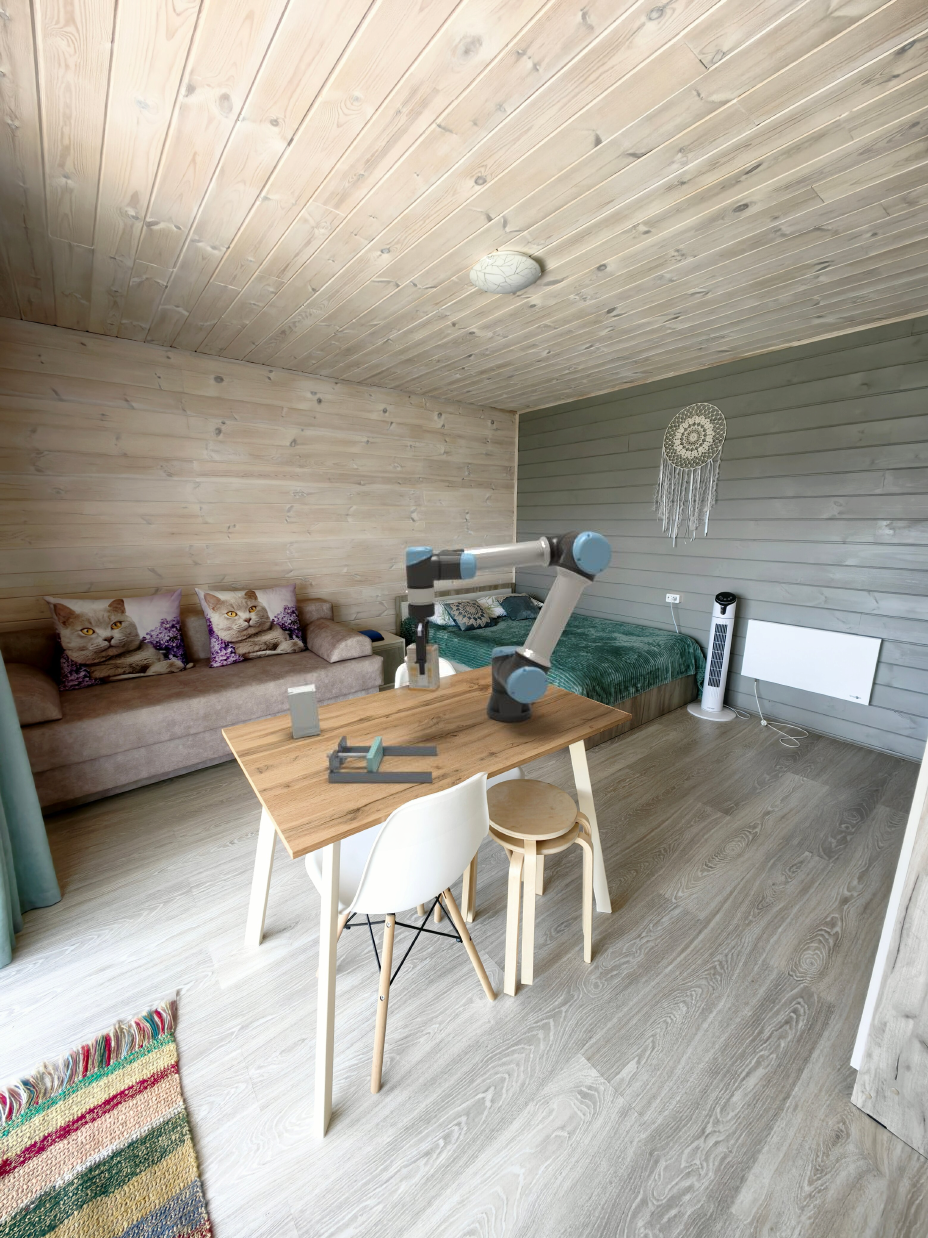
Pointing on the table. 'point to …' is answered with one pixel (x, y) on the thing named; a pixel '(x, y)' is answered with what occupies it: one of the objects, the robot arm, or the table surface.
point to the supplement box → (432, 668)
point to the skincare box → (303, 711)
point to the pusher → (368, 755)
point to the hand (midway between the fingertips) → (424, 680)
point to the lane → (378, 776)
